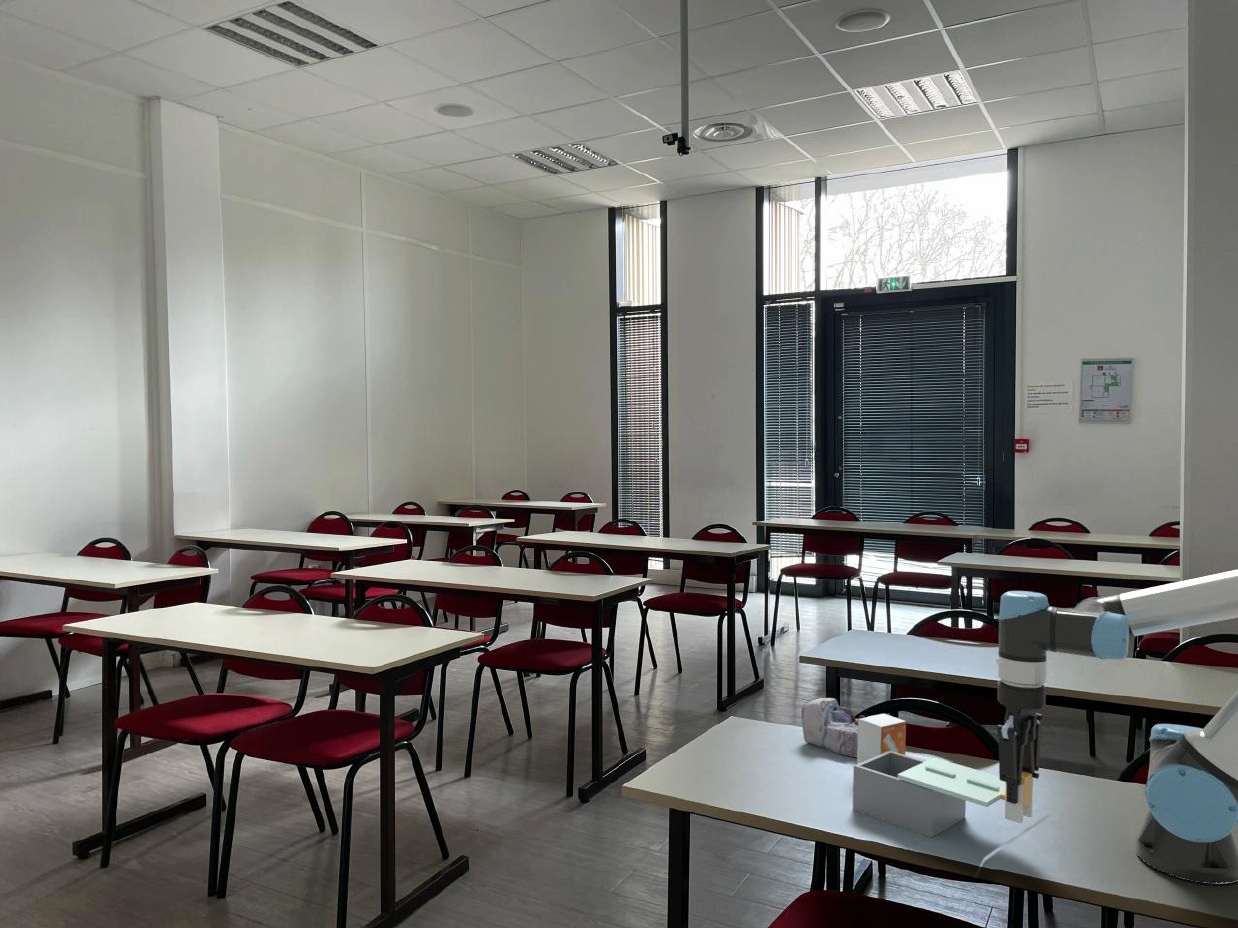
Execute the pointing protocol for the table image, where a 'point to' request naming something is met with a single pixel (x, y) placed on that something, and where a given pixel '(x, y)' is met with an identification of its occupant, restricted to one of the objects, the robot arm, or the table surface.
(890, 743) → the small box
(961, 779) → the lid
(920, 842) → the table surface
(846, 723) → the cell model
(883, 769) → the tub
